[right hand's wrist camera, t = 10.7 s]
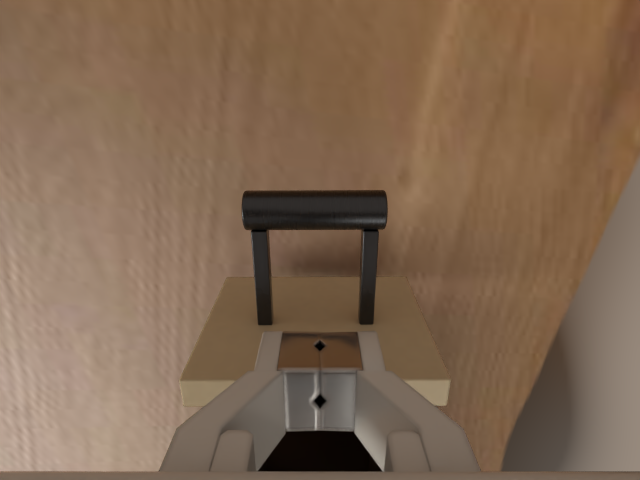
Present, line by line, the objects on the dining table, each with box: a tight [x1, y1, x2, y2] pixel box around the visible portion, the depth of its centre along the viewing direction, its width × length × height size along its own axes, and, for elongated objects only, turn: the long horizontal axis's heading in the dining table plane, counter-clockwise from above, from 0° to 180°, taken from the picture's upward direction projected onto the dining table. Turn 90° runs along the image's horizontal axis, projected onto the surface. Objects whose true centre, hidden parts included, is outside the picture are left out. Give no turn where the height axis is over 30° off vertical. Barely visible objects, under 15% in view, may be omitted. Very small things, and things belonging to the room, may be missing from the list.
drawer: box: [179, 190, 451, 472], centre depth 18 cm, size 20×9×8 cm, turn 0°
